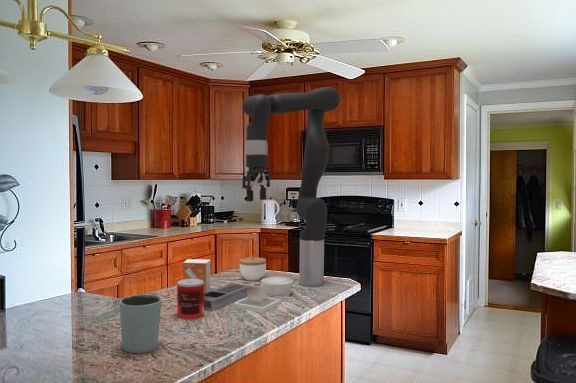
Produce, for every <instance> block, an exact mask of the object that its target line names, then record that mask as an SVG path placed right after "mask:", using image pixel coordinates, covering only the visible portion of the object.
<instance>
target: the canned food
mask: <svg viewBox="0 0 576 383" xmlns="http://www.w3.org/2000/svg"><path fill="white" fill-rule="evenodd" d="M176 292H177V293H176V294H177V296H176V300H177V301H176V302H177V303H176V305H177V318H179V319H182V320H196V319H201V318H202V317H204V316H205V315H204V312H205V310H204V283H203V280H200V279H184V280H183V279H180V280H178V281H177V287H176Z"/></svg>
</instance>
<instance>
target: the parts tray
mask: <svg viewBox="0 0 576 383" xmlns="http://www.w3.org/2000/svg"><path fill="white" fill-rule="evenodd" d="M281 304H282V300H281V299H279V298H272V297H267V305H266V306H264V307H258V306H252V305H247V297H244V298H242V299H239V300H237V301H235V302H232V308H233V309H238V310H245V311H251V312H256V313H257V312H258V313H267V312H268V311H269V310H271V309H273V308H275V307H277V306H279V305H281ZM275 310H277V308H276V309H275ZM275 310H274V309H273V310H272V311H270V312H269V313H268V314H270V313H271V312H273V311H275Z"/></svg>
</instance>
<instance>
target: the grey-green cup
mask: <svg viewBox="0 0 576 383" xmlns="http://www.w3.org/2000/svg"><path fill="white" fill-rule="evenodd" d="M162 302H163V300H162V297H161V296H159V295H156V294H147V293H145V294H144V293H143V294H141V293H140V294H133V295H128V296H124V297H122V298H120V300H119V302H118V303H119V315H120V317H119V318H120V328H121V329H120V332H121V334H120V335H121V344H122V345H121V346H122V350H123V351H124V352H126V353H131V354H143V353H148V352H151V351H154V350H156V349H157V348H158V347H159V338H160V336H159V335H160V323H161V309H162Z"/></svg>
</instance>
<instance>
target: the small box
mask: <svg viewBox="0 0 576 383" xmlns="http://www.w3.org/2000/svg"><path fill="white" fill-rule="evenodd" d="M211 262H212V261H211V259H199V258H197V259H194V258H193V259H190V258H188V259H186V260H185V261H184V262H182V280H184V279H200V280H203V283H204V293H206V292H208V291H211Z"/></svg>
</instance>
